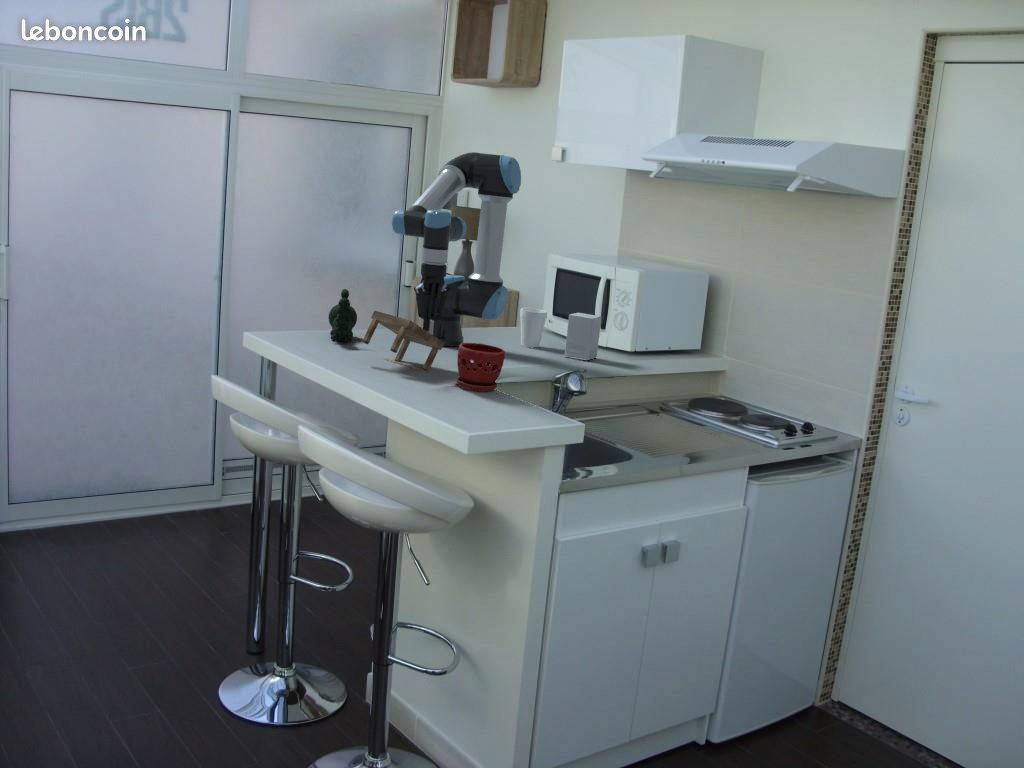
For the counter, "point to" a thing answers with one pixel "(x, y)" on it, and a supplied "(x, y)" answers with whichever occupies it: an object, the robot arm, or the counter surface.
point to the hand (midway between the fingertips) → (427, 341)
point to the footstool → (404, 335)
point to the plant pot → (479, 366)
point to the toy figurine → (342, 319)
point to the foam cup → (532, 326)
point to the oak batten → (406, 365)
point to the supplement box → (583, 336)
